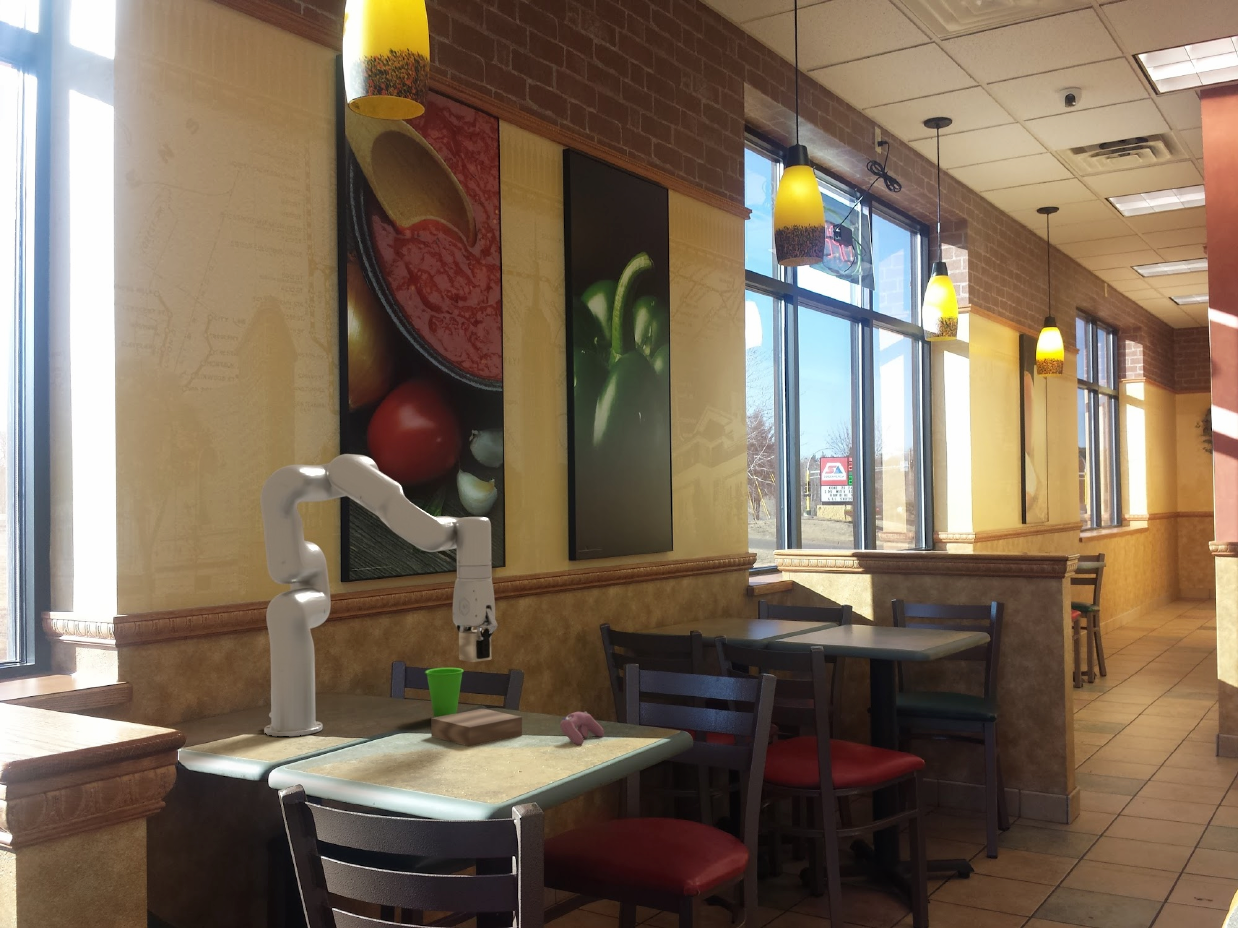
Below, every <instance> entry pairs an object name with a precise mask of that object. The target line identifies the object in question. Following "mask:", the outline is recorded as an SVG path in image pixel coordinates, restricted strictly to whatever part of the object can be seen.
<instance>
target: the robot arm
mask: <svg viewBox="0 0 1238 928" xmlns="http://www.w3.org/2000/svg"><path fill="white" fill-rule="evenodd" d="M342 497H348V498H350V499H351V500H352V501H354V502H356V503H357V504H359V505H360V506H362V507H363V508H365V509H366V510H368V511H369V512H371V513H373V514H374V515H375V516H377V517H378V518H379V519H380V521H381V522H382V523H383V524H385V525H386V526H387V527H388V528H389V530H391V531H392V532H393V533H395V534H396V535H397V536H399V537H401V538H402V539H404V540H405V541H406V542H407V543H409V544H411V545H413V546H415V547H416V548H417V549H420V550H422V551H425V552H428V553H434V552H440V551H441V552H442V551H448V550H452V549H453V550H454V549H456V577H457V578H456V579H455V582H454V588H453V596H452V598H453V599H452V622H453V624H454V625H455V627H456V629H457V631H458V633H459V632H465V631H473V630H474V628H476V629H475V630H477V634H478V639H479V640H476V648H477V659H483V658H489V657H490V639H491V640H492V635H493V634H494V631H495V630H496V629H497V628H498V626H499V625H498V622H497V620H496V604H495V603H496V601H495V591H494V584H493V580H492V579H493V578H492V577H493V575H492V572H493V571H492V569H493V568H492V524H491V521H490V518H488V517H484V516H468V517H465V516H464V517H455V516H447V515H445V516H444V515H443V516H442V515H441V516H440V515H439V516H438V515H437V516H433V515H430V514H429V513H427V512H426V511H424V510H422V509H421V508H419V507H418V506H417V505H415V504H414V503H412V502H411V501H410V500H409V499H408V498H407V497H406V496H405V493H404V490H403V487H402V485H401V484H400V483H399V482H398V481H395V480H394V479H392V478H391V477H389V476H388V475H386V474H384V473H383V472H382V471H380V469H379V467H378V465H377V463H376V462H375V460H373V459H372V458H370V457H369V456H366V455H363V454H354V453H353V454H352V453H351V454H350V453H344V454H340V455H337V456H336V457H335V458H333V459H332V460H331V461H330V462H329V463H323V464H318V465H311V464H290V465H286V466H283V467H280V468H278V469H276V470H275V471H274V472H273V473H271V474H270V476H268V478H266V480H265V481H264V484H263V486H262V488H261V492H260V500H259V501H260V503H259V504H260V511H261V516H262V524H263V533H264V534H263V535H264V544H265V545H264V546H265V557H266V566H267V572H268V575H269V577H270V578H271V580H272V581H274V583H276V584H279V585H289V586H290V589H289V590H286V591H283V592H280V593H279V594H277V595H275V596H274V597H273V598H271V601H270V602H269V604H268V606H267V609H266V615H265V616H266V617H265V618H266V625H267V630H268V637H269V644H270V645H269V646H270V647H269V649H270V650H269V651H270V697H271V698H270V704H271V705H270V707H271V708H270V709H271V710H270V712H269V713H268V716H269V718H270V719H271V723H270V724H269V725H266V726H265V727H264V728H263V733H264V734H265V733H266V734H267V735H266V734H265V735H266V736H269V735H272V736H271V737H277V736H289V737H298V736H300V735H301V736H306V735H311V734H315V733H318V732H320V731H322V729H323V723H322V722H321V721H316V666H315V664H316V660H315V657H316V655H315V643H314V639H313V636H312V633H311V631H312V630H311V629H314V628H316V627H319V626H320V625H322V624H324V622H326V620H327V619H328V617H329V616H330V613H331V605H332V603H331V602H332V601H331V600H332V599H331V590H330V582H329V571H328V564H327V559H326V557H325V554H324V552H323V550H322V549H321V548H320V546H318V545H317V544H316V543H314V542H312V541H307V540H305V535H304V524H303V520H302V516H301V514H300V512H299V510H298V504H299V503H314V502H315V503H316V502H325V501H328V500H334V499H338V498H342ZM483 629H484V630H483ZM482 631H483V633H482ZM301 736H300V737H301Z"/></svg>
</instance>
